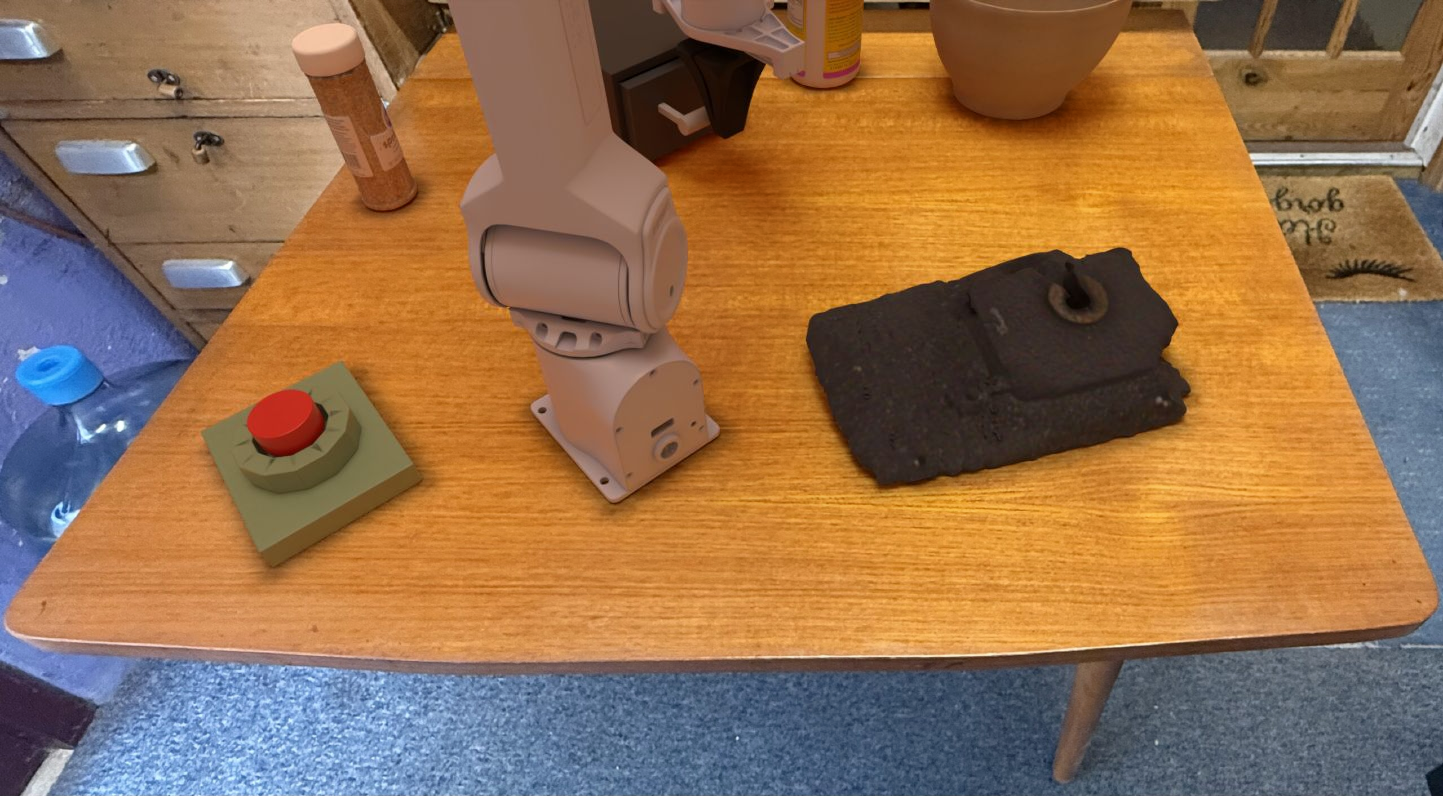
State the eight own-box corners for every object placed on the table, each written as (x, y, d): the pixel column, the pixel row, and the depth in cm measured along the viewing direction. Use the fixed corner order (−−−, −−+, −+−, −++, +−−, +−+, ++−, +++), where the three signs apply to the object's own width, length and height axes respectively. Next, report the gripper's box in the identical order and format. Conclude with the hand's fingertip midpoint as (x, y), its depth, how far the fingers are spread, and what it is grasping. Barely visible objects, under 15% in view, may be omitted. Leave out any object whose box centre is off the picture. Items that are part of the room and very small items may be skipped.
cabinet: (735, 121, 73) (731, 24, 66) (627, 173, 68) (610, 75, 62) (646, 66, 80) (634, -26, 74) (543, 110, 76) (521, 16, 69)
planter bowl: (1084, 49, 78) (1120, -77, 69) (1120, 145, 67) (1167, 10, 59) (910, 50, 79) (925, -73, 71) (918, 143, 69) (936, 12, 61)
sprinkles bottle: (426, 199, 68) (364, 37, 57) (372, 220, 66) (298, 58, 56) (408, 173, 70) (344, 14, 60) (355, 193, 69) (281, 33, 59)
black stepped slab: (782, 321, 56) (782, 267, 52) (1079, 256, 59) (1098, 200, 55) (863, 504, 46) (870, 452, 43) (1216, 415, 49) (1251, 359, 45)
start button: (334, 434, 48) (322, 415, 46) (273, 467, 46) (258, 448, 45) (312, 398, 49) (299, 379, 48) (252, 429, 48) (237, 410, 47)
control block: (423, 480, 49) (402, 444, 46) (273, 568, 45) (241, 534, 43) (351, 377, 55) (329, 339, 52) (214, 448, 51) (183, 412, 49)
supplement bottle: (868, 61, 78) (880, -87, 69) (846, 96, 75) (855, -56, 65) (801, 51, 80) (804, -95, 71) (776, 84, 77) (775, -65, 67)
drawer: (770, 139, 69) (769, 60, 64) (670, 190, 65) (660, 110, 60) (654, 68, 78) (645, -6, 73) (560, 108, 74) (543, 34, 69)
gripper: (843, -45, 51) (832, 149, 61) (699, -102, 59) (711, 79, 69) (756, -9, 48) (760, 188, 59) (617, -73, 56) (642, 110, 66)
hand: (729, 131), depth 64 cm, fingers closed
